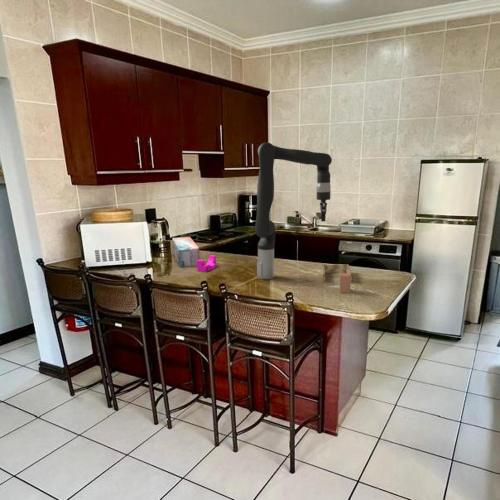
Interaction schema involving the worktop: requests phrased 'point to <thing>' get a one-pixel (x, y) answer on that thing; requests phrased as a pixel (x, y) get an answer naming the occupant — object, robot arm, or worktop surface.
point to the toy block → (208, 266)
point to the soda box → (185, 251)
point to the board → (338, 286)
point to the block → (345, 282)
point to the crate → (335, 269)
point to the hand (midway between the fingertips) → (323, 220)
